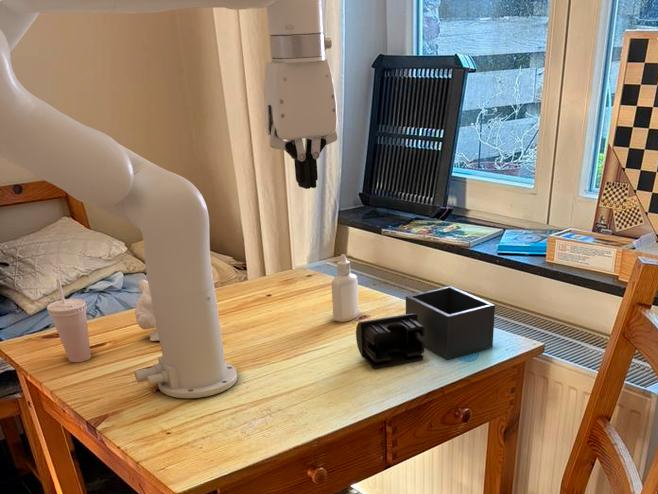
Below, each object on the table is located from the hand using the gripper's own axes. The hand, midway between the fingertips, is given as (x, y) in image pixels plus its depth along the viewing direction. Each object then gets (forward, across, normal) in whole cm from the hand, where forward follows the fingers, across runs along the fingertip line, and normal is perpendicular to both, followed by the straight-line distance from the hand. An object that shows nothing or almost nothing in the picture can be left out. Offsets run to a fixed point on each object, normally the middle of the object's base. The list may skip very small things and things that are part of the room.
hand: (307, 186), depth 115 cm
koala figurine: (+27, +21, -23) cm, 41 cm away
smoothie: (+27, +36, -22) cm, 50 cm away
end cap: (+27, -9, +9) cm, 30 cm away
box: (+27, -20, +10) cm, 35 cm away
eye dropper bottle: (+27, -12, -12) cm, 32 cm away
